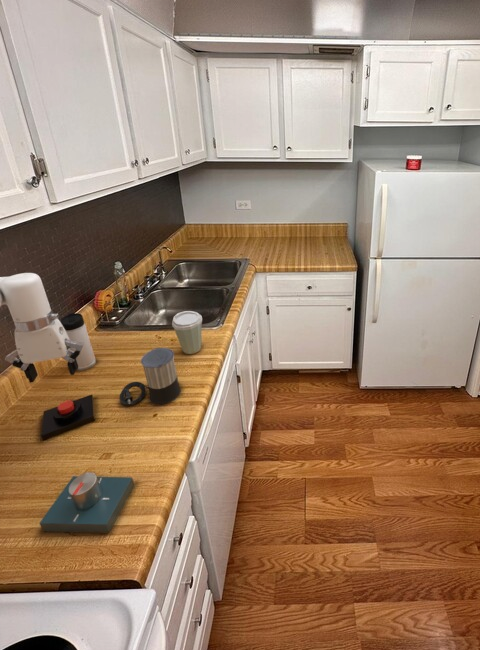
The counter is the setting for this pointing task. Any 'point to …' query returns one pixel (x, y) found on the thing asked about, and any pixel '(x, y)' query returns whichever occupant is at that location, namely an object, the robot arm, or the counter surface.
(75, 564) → the counter surface
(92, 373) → the counter surface
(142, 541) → the counter surface
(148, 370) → the milk frother
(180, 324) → the disposable coffee cup
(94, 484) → the dial knob
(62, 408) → the button
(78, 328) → the travel mug
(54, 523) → the dial panel
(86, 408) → the button box
